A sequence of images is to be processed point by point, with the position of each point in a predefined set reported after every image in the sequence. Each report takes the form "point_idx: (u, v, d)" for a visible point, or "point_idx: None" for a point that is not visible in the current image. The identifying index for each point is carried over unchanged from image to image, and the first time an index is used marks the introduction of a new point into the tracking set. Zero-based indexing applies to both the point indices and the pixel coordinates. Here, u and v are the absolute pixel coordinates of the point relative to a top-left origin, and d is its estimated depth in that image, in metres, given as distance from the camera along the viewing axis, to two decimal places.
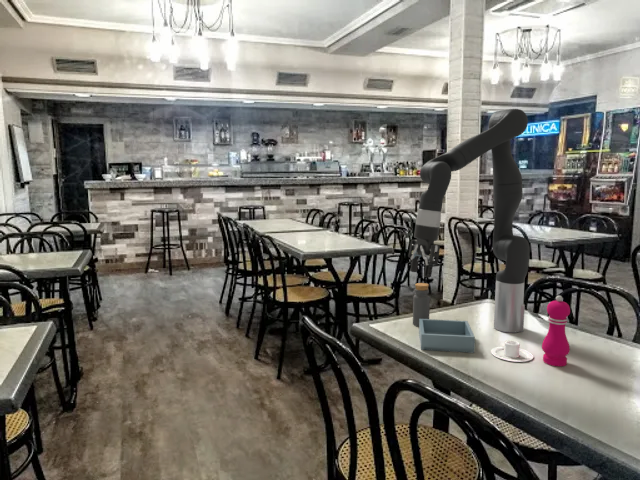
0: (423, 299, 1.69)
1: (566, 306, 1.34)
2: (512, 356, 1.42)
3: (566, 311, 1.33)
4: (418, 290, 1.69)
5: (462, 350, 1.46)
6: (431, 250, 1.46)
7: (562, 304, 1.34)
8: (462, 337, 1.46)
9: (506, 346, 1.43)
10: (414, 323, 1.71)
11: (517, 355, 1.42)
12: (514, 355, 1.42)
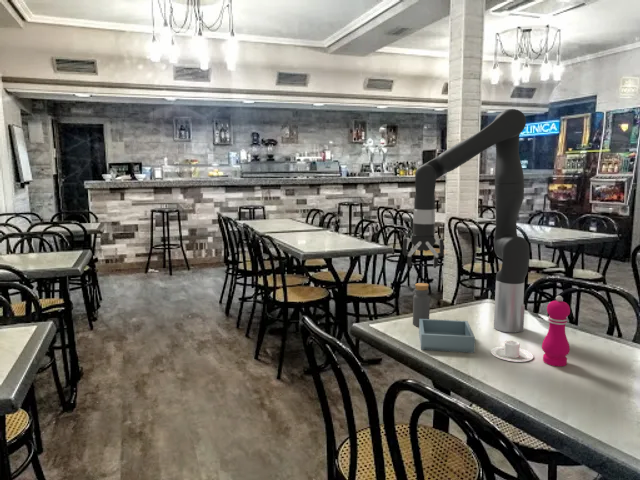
0: (423, 299, 1.69)
1: (566, 306, 1.34)
2: (512, 356, 1.42)
3: (566, 311, 1.33)
4: (418, 290, 1.69)
5: (462, 350, 1.46)
6: None
7: (562, 304, 1.34)
8: (462, 337, 1.46)
9: (506, 346, 1.43)
10: (414, 323, 1.71)
11: (517, 355, 1.42)
12: (514, 355, 1.42)
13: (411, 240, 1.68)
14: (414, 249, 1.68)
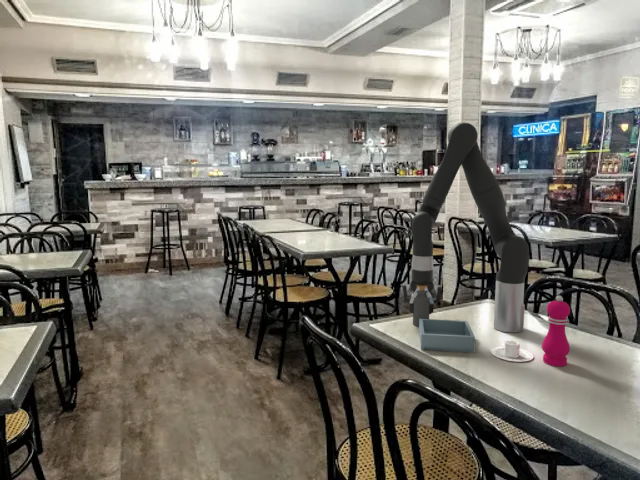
0: (423, 299, 1.69)
1: (566, 306, 1.34)
2: (512, 356, 1.42)
3: (566, 311, 1.33)
4: (418, 290, 1.69)
5: (462, 350, 1.46)
6: None
7: (562, 304, 1.34)
8: (462, 337, 1.46)
9: (506, 346, 1.43)
10: (414, 323, 1.71)
11: (517, 355, 1.42)
12: (514, 355, 1.42)
13: (410, 286, 1.71)
14: (414, 295, 1.70)
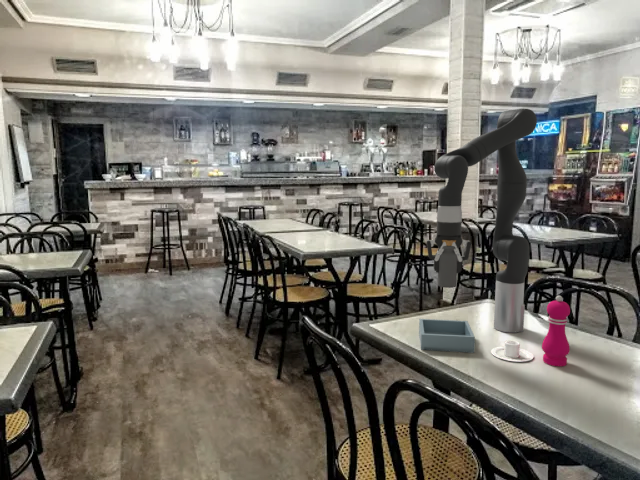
0: (451, 256, 1.48)
1: (566, 306, 1.34)
2: (512, 356, 1.42)
3: (566, 311, 1.33)
4: None
5: (462, 350, 1.46)
6: None
7: (562, 304, 1.34)
8: (462, 337, 1.46)
9: (506, 346, 1.43)
10: (440, 284, 1.51)
11: (517, 355, 1.42)
12: (514, 355, 1.42)
13: (435, 241, 1.50)
14: (440, 252, 1.50)
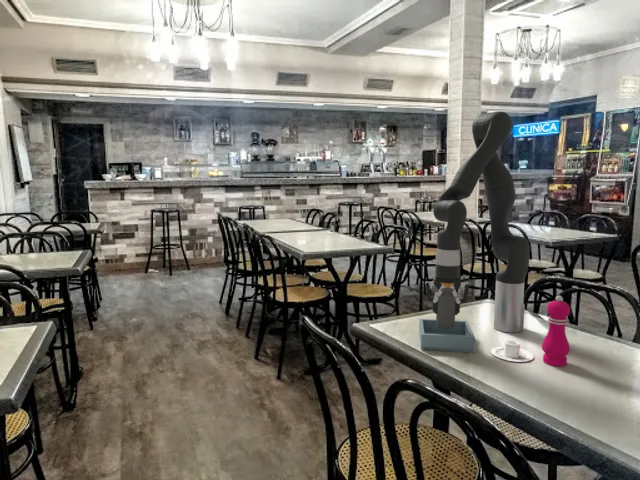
0: (449, 298, 1.50)
1: (566, 306, 1.34)
2: (512, 356, 1.42)
3: (566, 311, 1.33)
4: (443, 288, 1.51)
5: (462, 350, 1.46)
6: None
7: (562, 304, 1.34)
8: (462, 337, 1.46)
9: (506, 346, 1.43)
10: (438, 325, 1.53)
11: (517, 355, 1.42)
12: (514, 355, 1.42)
13: (433, 283, 1.52)
14: (439, 294, 1.51)
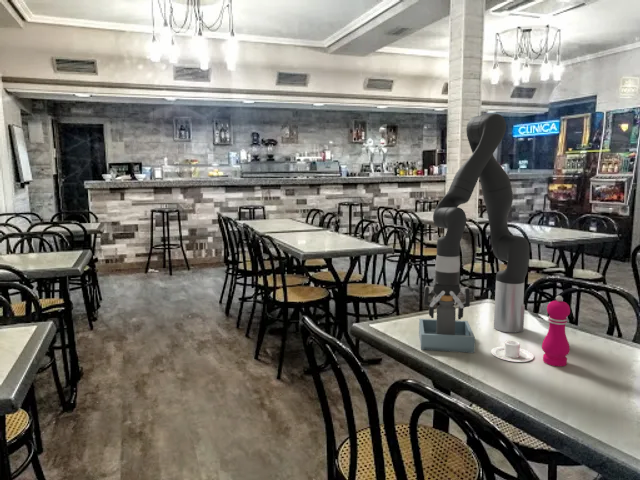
0: (449, 311, 1.51)
1: (566, 306, 1.34)
2: (512, 356, 1.42)
3: (566, 311, 1.33)
4: (442, 301, 1.51)
5: (462, 350, 1.46)
6: None
7: (562, 304, 1.34)
8: (462, 337, 1.46)
9: (506, 346, 1.43)
10: None
11: (517, 355, 1.42)
12: (514, 355, 1.42)
13: (433, 289, 1.52)
14: (437, 299, 1.52)
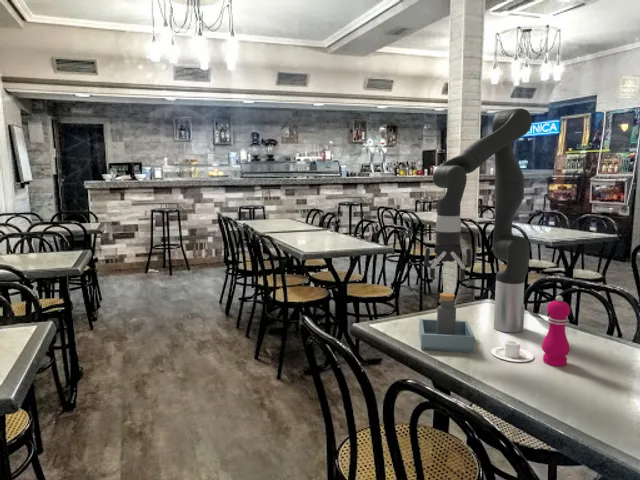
0: (449, 311, 1.51)
1: (566, 306, 1.34)
2: (512, 356, 1.42)
3: (566, 311, 1.33)
4: (443, 301, 1.51)
5: (462, 350, 1.46)
6: None
7: (562, 304, 1.34)
8: (462, 337, 1.46)
9: (506, 346, 1.43)
10: None
11: (517, 355, 1.42)
12: (514, 355, 1.42)
13: (434, 250, 1.51)
14: (438, 260, 1.50)
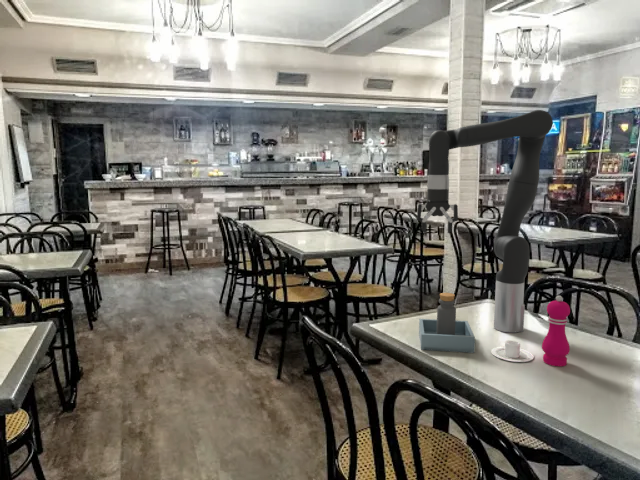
0: (449, 311, 1.51)
1: (566, 306, 1.34)
2: (512, 356, 1.42)
3: (566, 311, 1.33)
4: (443, 301, 1.51)
5: (462, 350, 1.46)
6: None
7: (562, 304, 1.34)
8: (462, 337, 1.46)
9: (506, 346, 1.43)
10: None
11: (517, 355, 1.42)
12: (514, 355, 1.42)
13: (425, 206, 1.71)
14: (428, 215, 1.70)
